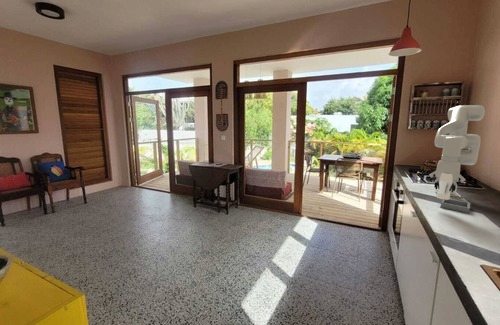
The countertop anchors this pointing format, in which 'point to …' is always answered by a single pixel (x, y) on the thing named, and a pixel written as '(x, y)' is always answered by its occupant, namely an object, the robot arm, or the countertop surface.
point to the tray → (455, 205)
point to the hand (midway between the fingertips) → (444, 190)
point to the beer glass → (444, 186)
